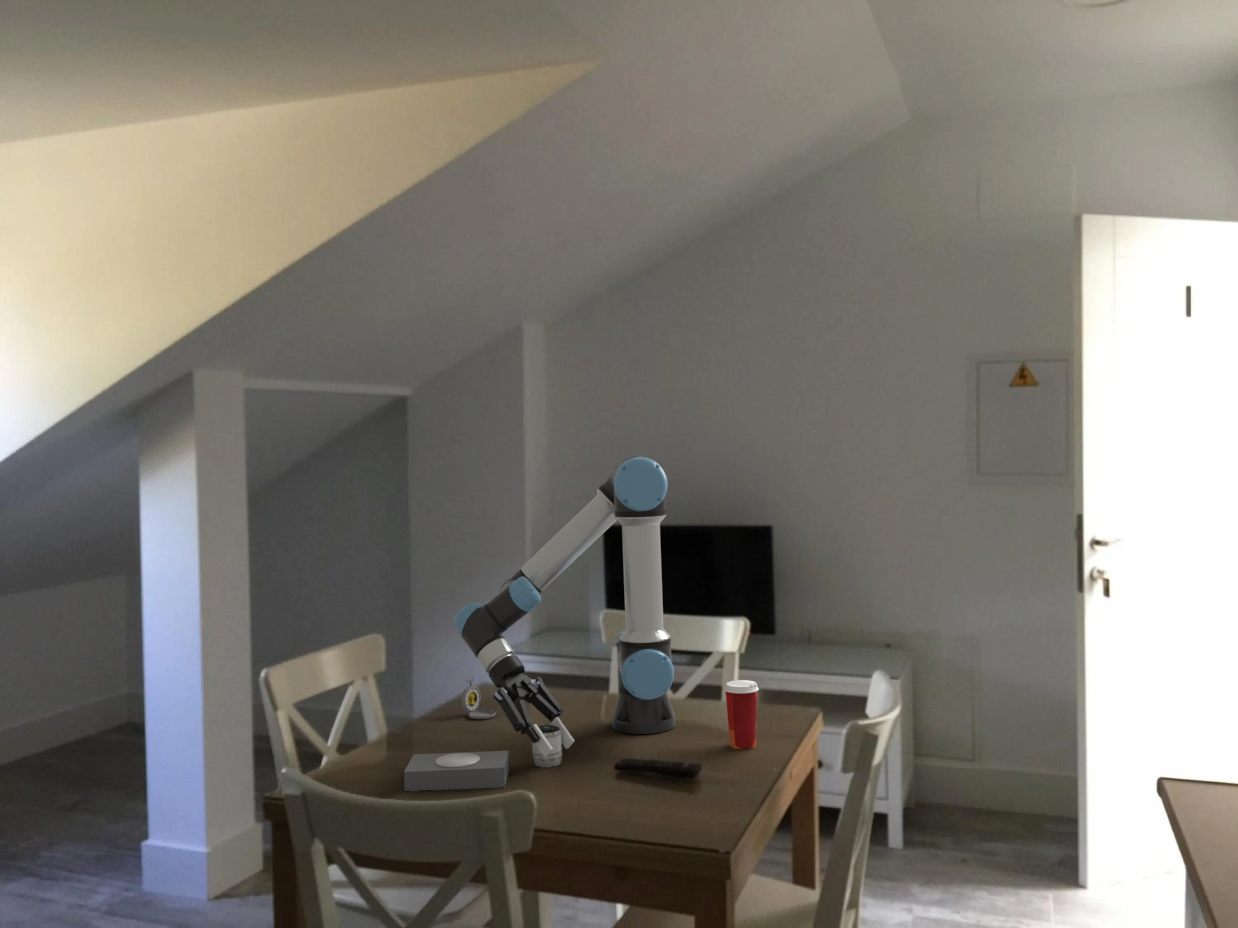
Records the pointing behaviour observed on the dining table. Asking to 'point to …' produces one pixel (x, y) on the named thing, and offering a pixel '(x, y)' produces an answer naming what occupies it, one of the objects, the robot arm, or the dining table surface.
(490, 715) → the pocket watch
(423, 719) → the dining table surface
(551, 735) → the camera lens
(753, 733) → the paper cup
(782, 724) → the dining table surface
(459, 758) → the box with white oval
